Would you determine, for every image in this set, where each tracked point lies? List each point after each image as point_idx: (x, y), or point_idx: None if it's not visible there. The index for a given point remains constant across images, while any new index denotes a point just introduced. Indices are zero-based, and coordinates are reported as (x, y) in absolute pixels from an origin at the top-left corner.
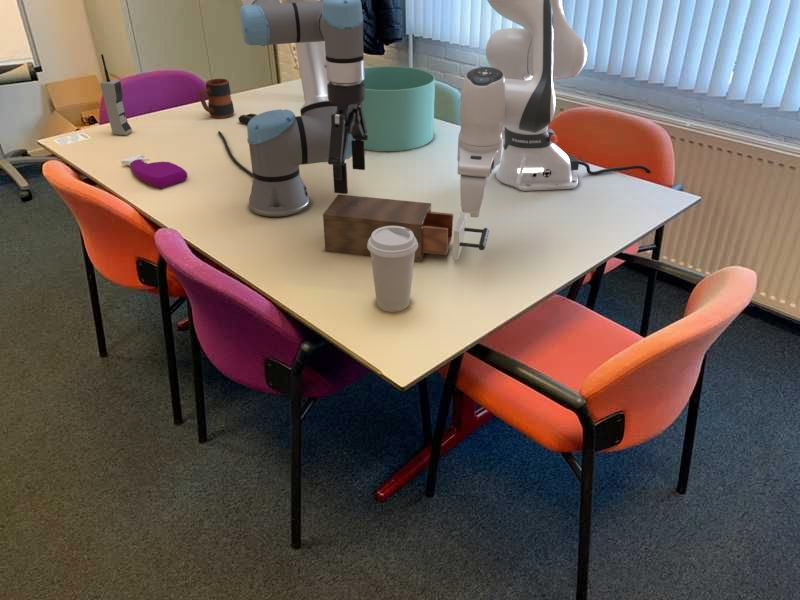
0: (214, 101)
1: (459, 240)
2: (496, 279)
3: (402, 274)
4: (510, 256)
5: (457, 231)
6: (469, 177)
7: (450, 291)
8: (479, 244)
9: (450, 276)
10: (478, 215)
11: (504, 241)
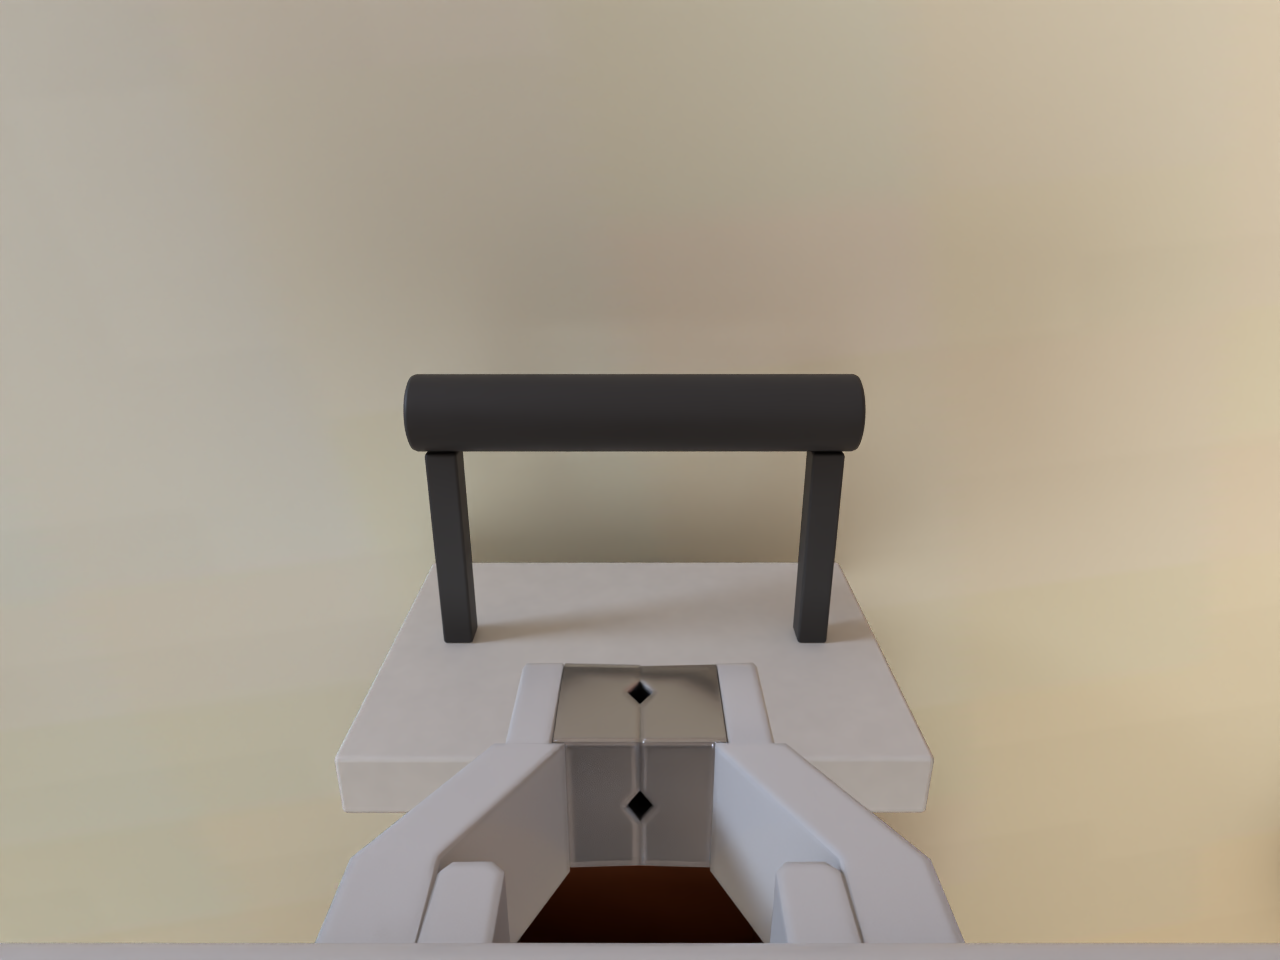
0: None
1: (861, 671)
2: (1065, 172)
3: None
4: (573, 66)
5: (929, 778)
6: None
7: (1265, 534)
8: (841, 448)
9: (1029, 567)
10: (756, 674)
11: (258, 167)
